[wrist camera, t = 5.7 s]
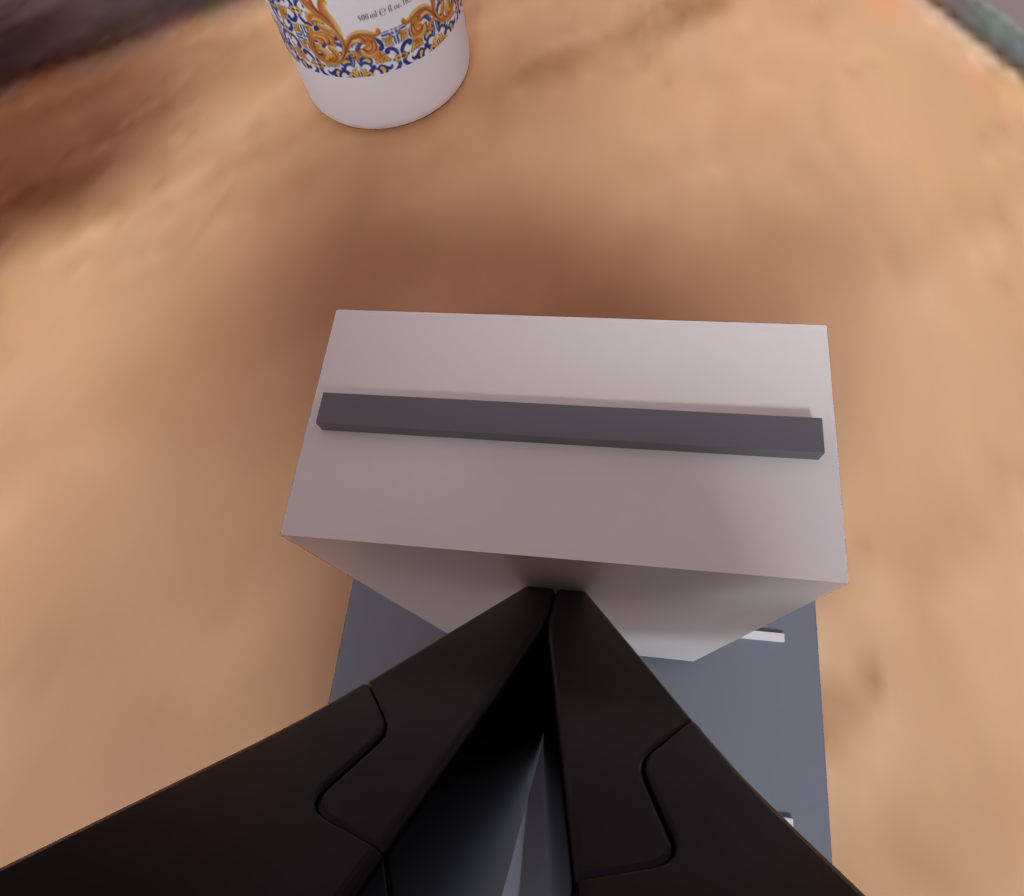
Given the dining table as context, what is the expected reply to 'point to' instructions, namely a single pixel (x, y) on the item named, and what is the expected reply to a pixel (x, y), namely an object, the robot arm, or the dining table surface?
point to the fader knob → (577, 469)
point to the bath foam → (376, 56)
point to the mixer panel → (698, 690)
